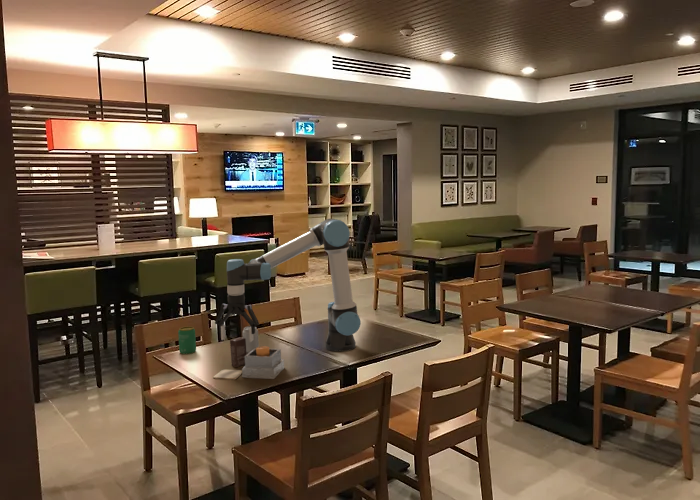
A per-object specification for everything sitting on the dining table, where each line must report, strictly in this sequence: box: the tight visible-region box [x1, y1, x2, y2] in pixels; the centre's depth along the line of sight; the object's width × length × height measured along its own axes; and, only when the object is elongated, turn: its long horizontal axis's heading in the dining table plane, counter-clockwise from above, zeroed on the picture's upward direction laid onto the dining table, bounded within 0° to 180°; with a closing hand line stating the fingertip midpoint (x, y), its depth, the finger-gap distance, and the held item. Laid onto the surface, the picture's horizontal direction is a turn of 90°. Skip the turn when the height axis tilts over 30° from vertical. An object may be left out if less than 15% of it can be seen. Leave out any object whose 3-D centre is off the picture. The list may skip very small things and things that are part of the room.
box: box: [229, 336, 248, 368], centre depth 255 cm, size 6×4×12 cm
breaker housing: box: [241, 348, 285, 380], centre depth 244 cm, size 14×14×9 cm
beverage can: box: [177, 326, 197, 355], centre depth 276 cm, size 8×8×12 cm
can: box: [242, 326, 260, 354], centre depth 275 cm, size 8×8×12 cm
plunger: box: [256, 345, 270, 356], centre depth 243 cm, size 6×6×4 cm
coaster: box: [212, 369, 242, 381], centre depth 242 cm, size 10×10×1 cm
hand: (237, 340), depth 254 cm, fingers open, 13 cm apart
